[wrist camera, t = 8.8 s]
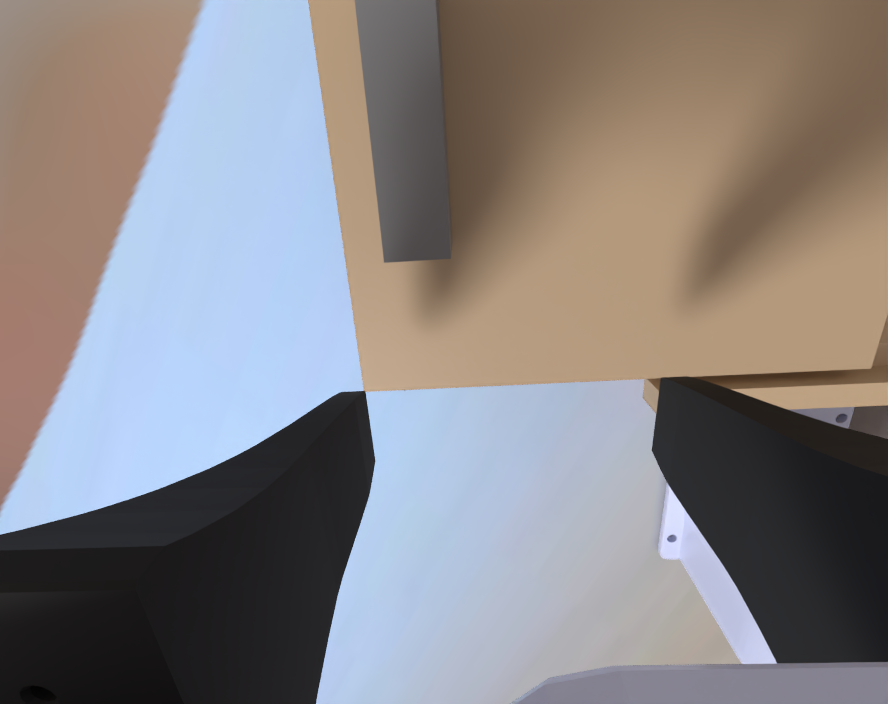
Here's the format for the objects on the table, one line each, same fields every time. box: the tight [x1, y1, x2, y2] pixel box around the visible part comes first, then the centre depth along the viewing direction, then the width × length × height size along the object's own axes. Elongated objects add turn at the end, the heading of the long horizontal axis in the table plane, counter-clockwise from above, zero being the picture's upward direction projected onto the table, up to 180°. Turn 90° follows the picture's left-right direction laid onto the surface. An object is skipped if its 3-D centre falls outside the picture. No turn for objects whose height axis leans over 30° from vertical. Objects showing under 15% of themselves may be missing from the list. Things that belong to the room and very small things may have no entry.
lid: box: [308, 0, 888, 392], centre depth 10 cm, size 15×16×4 cm
